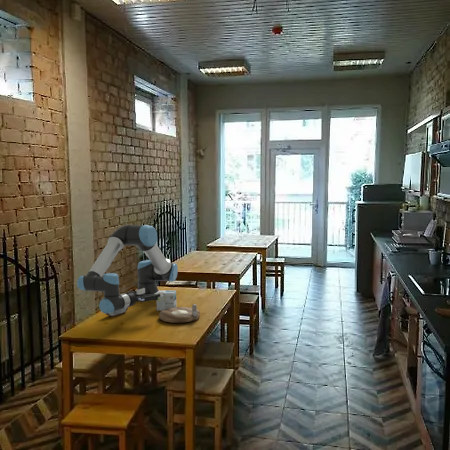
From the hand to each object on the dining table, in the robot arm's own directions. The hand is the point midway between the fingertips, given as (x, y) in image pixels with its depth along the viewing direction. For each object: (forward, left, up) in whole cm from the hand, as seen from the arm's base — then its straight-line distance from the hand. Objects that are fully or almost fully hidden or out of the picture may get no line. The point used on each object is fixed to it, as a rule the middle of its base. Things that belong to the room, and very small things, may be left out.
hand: (153, 292), depth 256 cm
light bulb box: (-11, 0, -13) cm, 17 cm away
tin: (+12, -17, -13) cm, 25 cm away
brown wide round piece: (-2, +17, -12) cm, 21 cm away
